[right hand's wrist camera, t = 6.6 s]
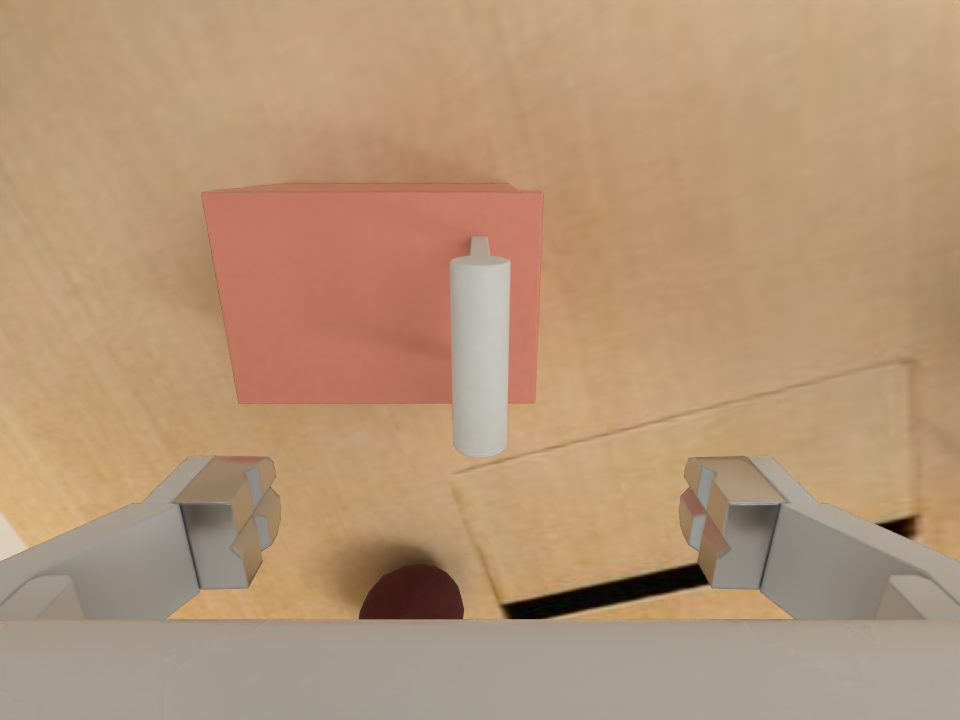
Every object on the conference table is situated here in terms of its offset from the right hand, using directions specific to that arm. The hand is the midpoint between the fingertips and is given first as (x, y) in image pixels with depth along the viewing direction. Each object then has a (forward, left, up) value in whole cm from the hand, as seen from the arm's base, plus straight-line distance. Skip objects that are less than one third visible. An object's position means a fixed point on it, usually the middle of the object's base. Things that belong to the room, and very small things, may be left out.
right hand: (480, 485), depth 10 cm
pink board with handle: (+3, +3, -15) cm, 16 cm away
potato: (-15, +21, -24) cm, 35 cm away
